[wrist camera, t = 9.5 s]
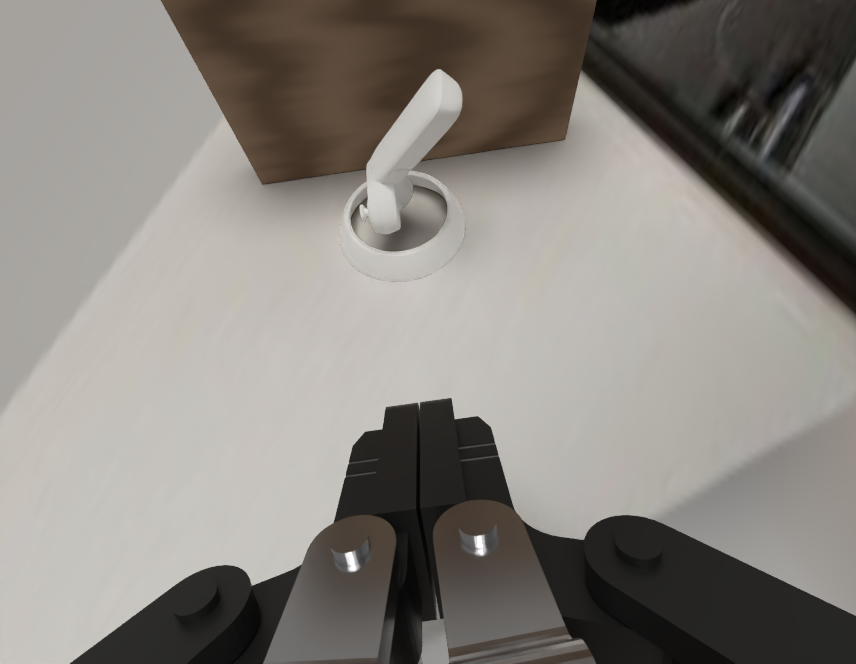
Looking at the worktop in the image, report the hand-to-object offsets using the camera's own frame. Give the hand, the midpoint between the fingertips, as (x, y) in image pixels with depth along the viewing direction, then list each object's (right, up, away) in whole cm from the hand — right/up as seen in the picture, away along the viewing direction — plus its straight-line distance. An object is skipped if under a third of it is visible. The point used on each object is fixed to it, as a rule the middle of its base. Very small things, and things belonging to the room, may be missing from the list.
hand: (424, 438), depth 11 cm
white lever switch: (-1, +9, +17) cm, 19 cm away
